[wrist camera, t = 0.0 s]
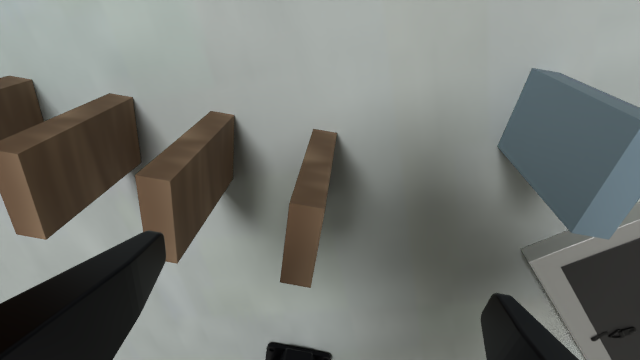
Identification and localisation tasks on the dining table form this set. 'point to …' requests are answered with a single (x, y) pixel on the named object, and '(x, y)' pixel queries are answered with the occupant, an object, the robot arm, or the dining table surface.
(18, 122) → the domino
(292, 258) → the domino
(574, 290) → the picture frame
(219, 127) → the domino
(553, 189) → the domino
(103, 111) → the domino
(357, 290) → the dining table surface
